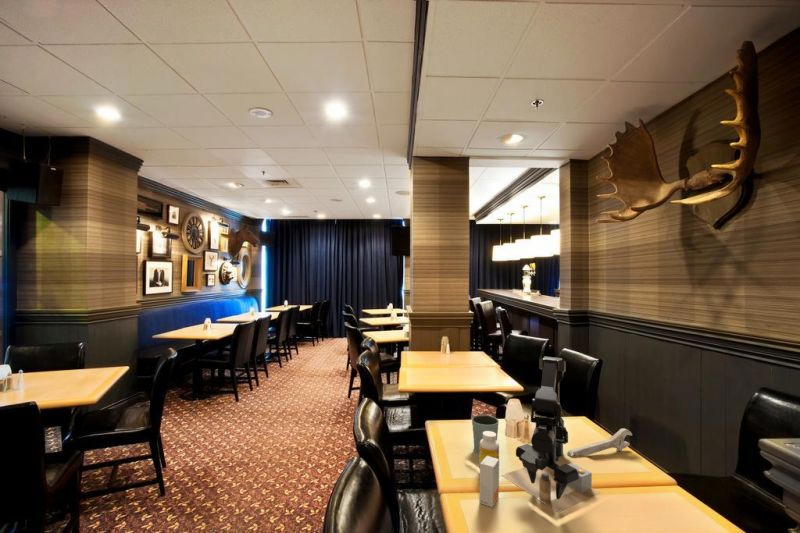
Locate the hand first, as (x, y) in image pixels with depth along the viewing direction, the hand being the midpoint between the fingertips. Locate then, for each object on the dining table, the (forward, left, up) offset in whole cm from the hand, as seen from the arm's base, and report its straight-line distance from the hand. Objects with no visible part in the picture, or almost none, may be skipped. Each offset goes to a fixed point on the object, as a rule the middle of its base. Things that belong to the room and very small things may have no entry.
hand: (545, 490), depth 113 cm
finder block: (-15, 0, -2) cm, 15 cm away
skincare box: (+14, -9, -4) cm, 17 cm away
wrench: (-44, -11, -4) cm, 46 cm away
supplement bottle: (+2, -22, -4) cm, 22 cm away
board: (-8, -5, -4) cm, 10 cm away
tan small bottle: (0, 0, -2) cm, 3 cm away
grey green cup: (-7, -34, -4) cm, 35 cm away
